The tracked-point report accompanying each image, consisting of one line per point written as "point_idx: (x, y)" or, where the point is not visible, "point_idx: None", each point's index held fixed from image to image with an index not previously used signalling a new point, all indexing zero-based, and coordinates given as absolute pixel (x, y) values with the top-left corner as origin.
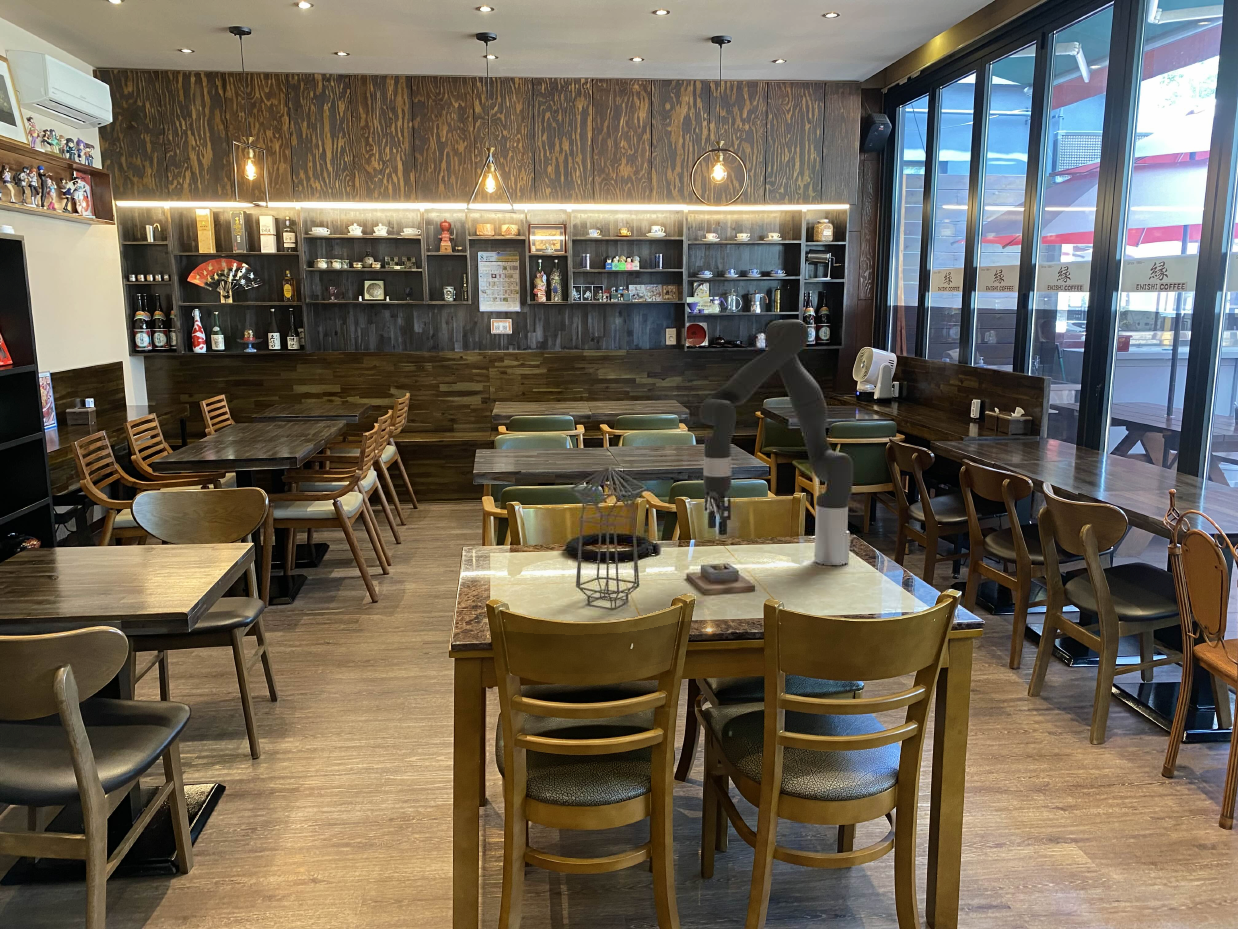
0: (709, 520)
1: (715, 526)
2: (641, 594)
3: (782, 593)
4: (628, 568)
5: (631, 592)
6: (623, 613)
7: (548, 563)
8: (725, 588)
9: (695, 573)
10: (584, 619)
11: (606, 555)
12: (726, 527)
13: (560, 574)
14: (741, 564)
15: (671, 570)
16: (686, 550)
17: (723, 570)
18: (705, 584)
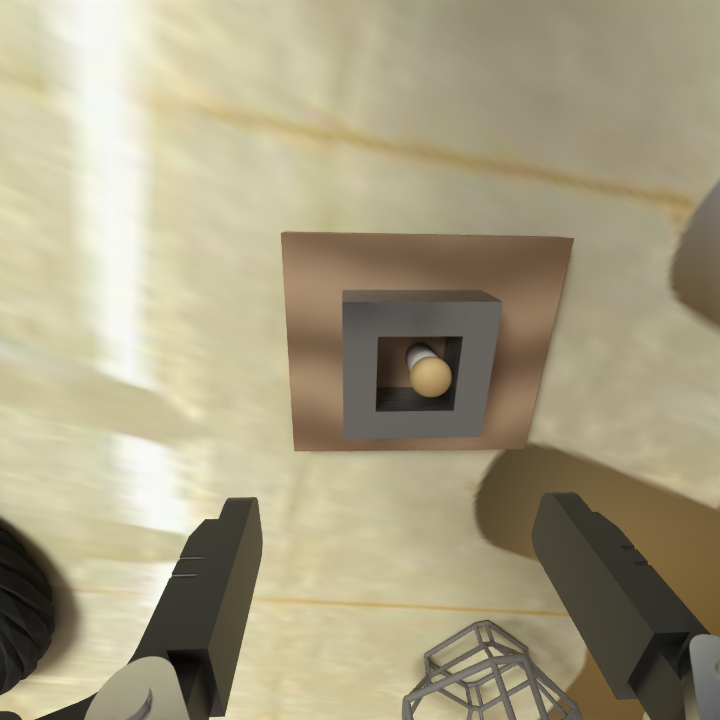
0: (240, 630)
1: (251, 508)
2: (434, 586)
3: (654, 115)
4: (136, 570)
5: (503, 646)
6: (563, 639)
7: None
8: (540, 375)
9: (308, 421)
10: None
11: (39, 638)
12: (652, 570)
13: None
14: (67, 86)
15: (174, 457)
16: None
17: (472, 375)
18: None
